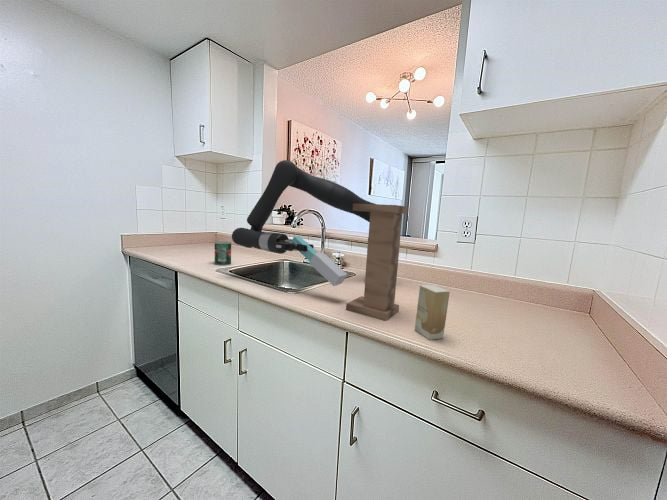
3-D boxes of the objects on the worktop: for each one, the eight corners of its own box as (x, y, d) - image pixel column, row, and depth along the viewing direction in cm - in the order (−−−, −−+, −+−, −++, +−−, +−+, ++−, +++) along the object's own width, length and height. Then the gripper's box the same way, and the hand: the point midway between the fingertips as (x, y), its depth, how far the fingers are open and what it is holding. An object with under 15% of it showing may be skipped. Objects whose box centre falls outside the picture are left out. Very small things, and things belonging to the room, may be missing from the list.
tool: (288, 243, 98) (293, 234, 97) (297, 242, 102) (302, 233, 101) (333, 286, 89) (339, 276, 88) (341, 283, 93) (347, 274, 92)
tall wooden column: (361, 301, 93) (368, 205, 88) (398, 311, 86) (408, 206, 82) (345, 309, 84) (352, 203, 80) (385, 320, 78) (396, 205, 73)
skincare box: (413, 329, 72) (418, 284, 71) (427, 328, 74) (432, 283, 72) (430, 341, 67) (435, 291, 65) (444, 339, 68) (450, 290, 66)
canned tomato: (212, 263, 140) (212, 241, 139) (227, 262, 146) (227, 241, 144) (217, 266, 135) (217, 243, 133) (233, 264, 140) (234, 243, 138)
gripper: (260, 233, 99) (297, 238, 90) (287, 232, 111) (322, 236, 102) (259, 253, 100) (296, 261, 91) (286, 250, 112) (321, 256, 103)
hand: (309, 248), depth 96 cm, fingers closed on tool, 3 cm apart
